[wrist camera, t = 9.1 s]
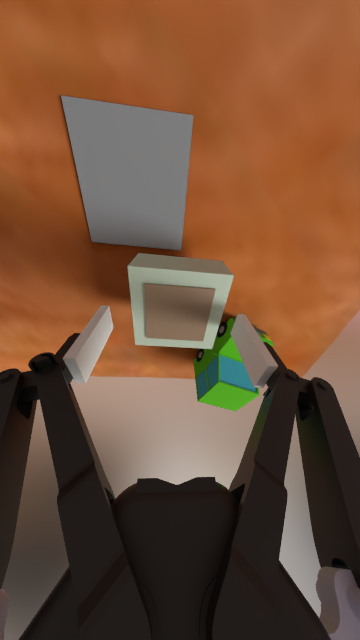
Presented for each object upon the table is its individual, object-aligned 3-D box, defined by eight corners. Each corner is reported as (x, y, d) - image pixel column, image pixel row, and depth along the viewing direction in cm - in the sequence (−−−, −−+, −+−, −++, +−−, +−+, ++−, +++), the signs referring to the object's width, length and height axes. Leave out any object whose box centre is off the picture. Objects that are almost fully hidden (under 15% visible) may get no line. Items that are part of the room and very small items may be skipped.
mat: (92, 241, 21) (91, 241, 21) (62, 97, 14) (60, 95, 14) (181, 249, 22) (181, 250, 22) (193, 116, 15) (193, 115, 15)
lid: (142, 321, 24) (134, 346, 20) (138, 253, 19) (126, 266, 14) (206, 325, 25) (212, 350, 21) (222, 260, 19) (234, 276, 15)
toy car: (267, 328, 31) (300, 372, 23) (226, 367, 38) (240, 412, 29) (225, 308, 28) (245, 350, 20) (188, 354, 35) (192, 399, 27)
